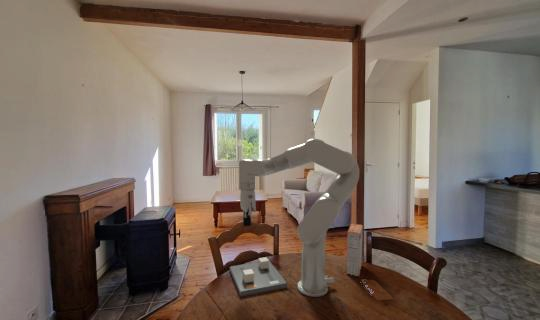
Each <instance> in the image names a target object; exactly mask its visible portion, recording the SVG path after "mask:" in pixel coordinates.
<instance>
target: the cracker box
mask: <svg viewBox="0 0 540 320" xmlns="http://www.w3.org/2000/svg"><path fill="white" fill-rule="evenodd" d="M363 227H364V226H363V225H362V224H358V223H351V224H350V226H349V228H348V230H347V233H346V234H347V237H346V238H347V239H346V241H347V242H346V243H347V247H346V248H347V249H346V253H347V254H346V275H347V274H351V275H350V276H352V275H355V276H354V277H356V276H359V277H360V274H361V271H360V270H362V264H363V233H364V232H363V230H364V228H363Z"/></svg>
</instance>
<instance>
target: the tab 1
mask: <svg viewBox="0 0 540 320" xmlns="http://www.w3.org/2000/svg"><path fill="white" fill-rule="evenodd" d="M243 280H244V282H245V283H248V282H254V272H253V270H252V269H248V270H243Z"/></svg>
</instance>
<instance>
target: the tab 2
mask: <svg viewBox="0 0 540 320" xmlns="http://www.w3.org/2000/svg"><path fill="white" fill-rule="evenodd" d="M269 261H270V260H269V259H268V258H267V256H265V257H259V258H258V260H257V262H258V266H259V267H260V269H266V268H269Z"/></svg>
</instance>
